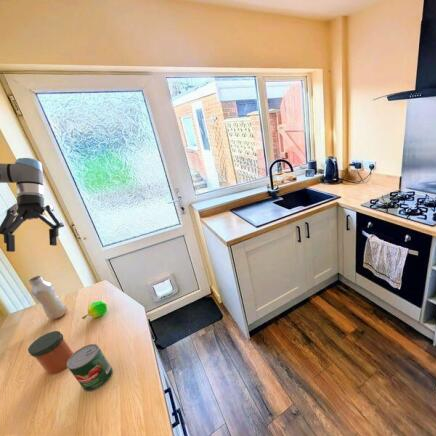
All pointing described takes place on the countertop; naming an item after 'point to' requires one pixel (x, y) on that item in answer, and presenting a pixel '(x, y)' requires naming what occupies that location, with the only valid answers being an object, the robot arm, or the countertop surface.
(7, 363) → the countertop surface
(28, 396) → the countertop surface
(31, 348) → the jar lid
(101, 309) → the apple
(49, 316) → the plastic bottle
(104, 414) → the countertop surface
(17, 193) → the robot arm
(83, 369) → the canned tomato
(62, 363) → the jam jar
